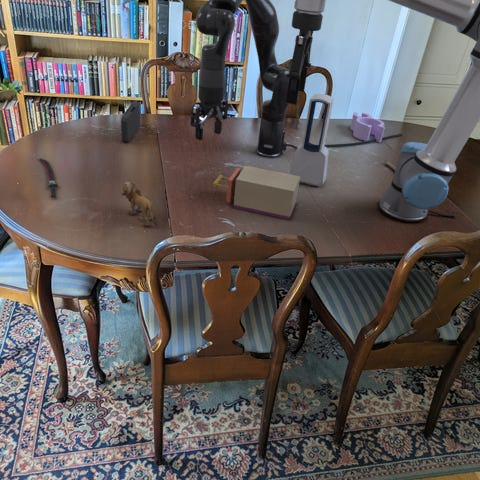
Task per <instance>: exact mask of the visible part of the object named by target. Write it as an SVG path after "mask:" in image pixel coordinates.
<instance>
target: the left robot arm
mask: <svg viewBox="0 0 480 480" xmlns="http://www.w3.org/2000/svg"><path fill="white" fill-rule="evenodd" d="M244 1H245V5H246V10H247V15H248V19H249V20H248V21H249V24H250V29H251V32H252V33H251V34H252V36H253V40H254V46H255V50H256V54H257V60H258V67H259V76H260V82H261V84H262V86H263V88H264V89H266V90H267V91H270V92H271V93H272V95H271V98H270V99H266V100H263V102H262V105H261V114H260V123H259V131H258V138H257V139H258V140H257V149H256V153H257V154H258V155H259V156H262V157H264V158H265V157H266V158H277V157H279V156H281V155H282V154H283V151H286V150H287V147H290V148H293V149H294V150H297V148H298V147H299V146H295V145H294V144H290V143H287V142H285V136H286V130H284V128H285V122H286V119H285V118H286V115H287V114H286V113H287V109H288V108H289V107H288V106H289V105H290V104H289V103H286V100H287V93H288V86H289V79H290V78H289V77H287V74H289V73H290V70H289V69H288V68H286V67H284V66H281V65H279V64H278V60H277V57H276V50H275V49H276V44H277V42H278V38H279V35H280V24H279V19H278V14H277V10H276V7H275V6H274V4H273V3H272V1H271V0H244ZM242 2H243V0H207V1H206V2H205V3H204V4H203V5H202V6H201V7H200V8H199V10H198V12H197V14H196V17H195V25H196V28H197V30H198V32H199V33H200V34H203V35H205V36H210V37H211V36H212V37H218V39H217V41H216V43H208V44H204V45H203V46H202V47H201V52H200V68H199V73H198V75H199V76H198V93H197V97H198V99H199V105H198V106H196V105H192V106H191V113H190V122H189V123H190V126H191V127H193V128H195V134H194V137H195V139H196V140H197V141H202V140H203V138H204V136H203V135H204V126H205V124H206V123H208V122H209V120H210V119H212V118H213V119H214V120H215V121H214V127H213V129H214V130H213V133H215V134H217V135H220V134H222V127H223V122H224V120H227V119H228V112H229V111H228V110H229V109H228V108H229V101H228V100H226V99H224V96H225V86H226V85H225V84H226V60H227V52H228V48H229V45H230V41H231V38H232V35H233V33H234V30H235V26H236V18H235V14H236V13H237V10H238V9H239V7H240V6H241V5H242ZM401 136H403V134H402V133H398V134H392V135H388V136H383V137H382V140H387V139H392V138H396V137H401ZM382 140H381V141H382ZM376 141H377V140H376V139H375V138H374V139H369V140H368V141H364V140H363V141H358V142H349V143H337V144H336V143H335V144H325V145H324V147H326V148H331V147H332V148H333V147H345V146H347V147H348V146H356V145H364V144H369V143H374V142H376Z"/></svg>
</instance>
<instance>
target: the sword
mask: <svg viewBox="0 0 480 480" xmlns="http://www.w3.org/2000/svg"><path fill="white" fill-rule="evenodd" d="M40 161H41V162H42V163H43V165H44V166H45V169H46V173H47V176H48V185H47V188H50V198H56V197H57V189H56V188H57V187H59V185H58V184H57V183H56V180H55V176H54V172H53V169H52V167H51V164H50V163H49V161H48V160H46V159H43V158H40Z"/></svg>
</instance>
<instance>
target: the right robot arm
mask: <svg viewBox="0 0 480 480" xmlns="http://www.w3.org/2000/svg"><path fill="white" fill-rule="evenodd" d="M388 1H389V2H391V3H394V4H397V5H399V6H402V7H404V8H407V9H410V10H412V11H415V12H417V13H420V14H422V15H425V16H428V17H430V18H433V19H436V20H438V21H440V22H443V23H446V24H448V25H451V26H453V27H455V28H456V31H457V33H460V34H462V35H464V36H466V37H469V38H470V39H472V40H473V41H475V42H476V43H475V44H474V47H473V48H472V50H471V51H470V53H469V57H470V61H471V65H470V66H469V69H468V70H467V72H466V74H465V75H464V77H463V79H462V81H461V83H460V84H459V86H458V87H457V90H456V92H455V93H454V96H452V99H451V101H450V102H449V104H448V106H447V108H446V110H445V112H444V113H443V115H442V117H441V119H440V121H439V123H438V124H437V126H436V128H435V130H434V131H433V133H432V135H431V136H430V138H429V141H428V142H427V143H424V142H416V141H409V142H408V141H407V142H405V143H404V144H402V147H401V150H400V151H399V156H398V160H397V163H396V166H395V167H396V170H395V171H394V173H393V177H392V180H391V182H390V183H391V184H390V186H389V187H388V188H387V190H386V192H385V193H383V196H382V197H381V198H380V201H379V204H378V208H379V210H380V211H381V213H382V214H384V215H385V216H386V217H388V218H391V219H393V220H396V221H399V222H402V223H403V222H404V223H410V224H411V223H420V222H423V221H425V220H426V218H427V216H428V213H431V214H435V215H438V216H442V217H448V218H455V217H456V215H455V214H448V213H441V212H438V211H435V210H432V208H436V207H438V206H440V205H441V204H442V203H443V202H444V201H445V200H446V199H447V197H448V194H449V189H450V187H449V183H450V181H451V180H452V178H453V176H454V174H455V173H456V172H457V166H456V163H455V162H456V160H457V158H458V156H459V155H460V153H461V152H462V150H463V148H464V147H465V145H466V143H467V142H468V140H469V139H470V137H471V135H472V133H473V132H474V130H475V128H476V127H477V125H478V124H479V122H480V0H388ZM326 2H327V0H294V8H293V9H295V11H293V12H292V18H291V27H292V28H293V29H294V30H299V33H298V35H297V34H296V36H295V40H294V41H295V44H294V49H293V53H292V54H293V55H292V59H291V63H290V65H291V68H290V73H289V74H287V77H289V78H290V79H289V86H288V93H287V100H286V103H291V104H290V105H293V104H297V98H298V92H302V93H305V88H306V82H307V75H308V71H309V68H311V67H312V63H310V62H311V51H312V44H313V41H314V37H313V34H314V32H319V31H320V30H321V29H322V24H323V18H324V15H323V14H322V13H324V12H325V9H326Z"/></svg>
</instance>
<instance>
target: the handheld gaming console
mask: <svg viewBox="0 0 480 480" xmlns="http://www.w3.org/2000/svg"><path fill="white" fill-rule="evenodd" d="M120 125H121V126H120V127H121V128H120V131H121V141H122V142H123V143H129V142H130V141H131V139H132V138H133V136H134V134H136V131H137V130H138V129H139V127H140V125H141V103H140V101H132V103H131V104H130V105H129V107H128V108H127V109H126V111H124V113H123V115H122V116H121V117H120Z"/></svg>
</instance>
